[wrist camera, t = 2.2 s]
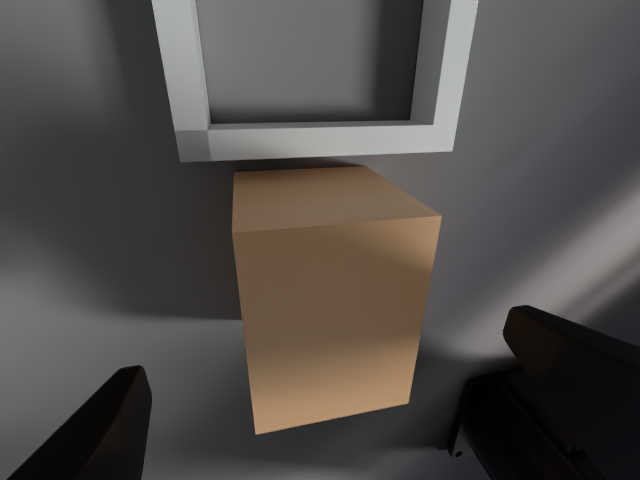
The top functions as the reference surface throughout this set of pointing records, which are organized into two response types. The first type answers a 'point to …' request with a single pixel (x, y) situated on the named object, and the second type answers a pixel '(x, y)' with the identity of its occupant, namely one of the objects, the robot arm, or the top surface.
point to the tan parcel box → (329, 291)
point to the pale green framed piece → (319, 137)
